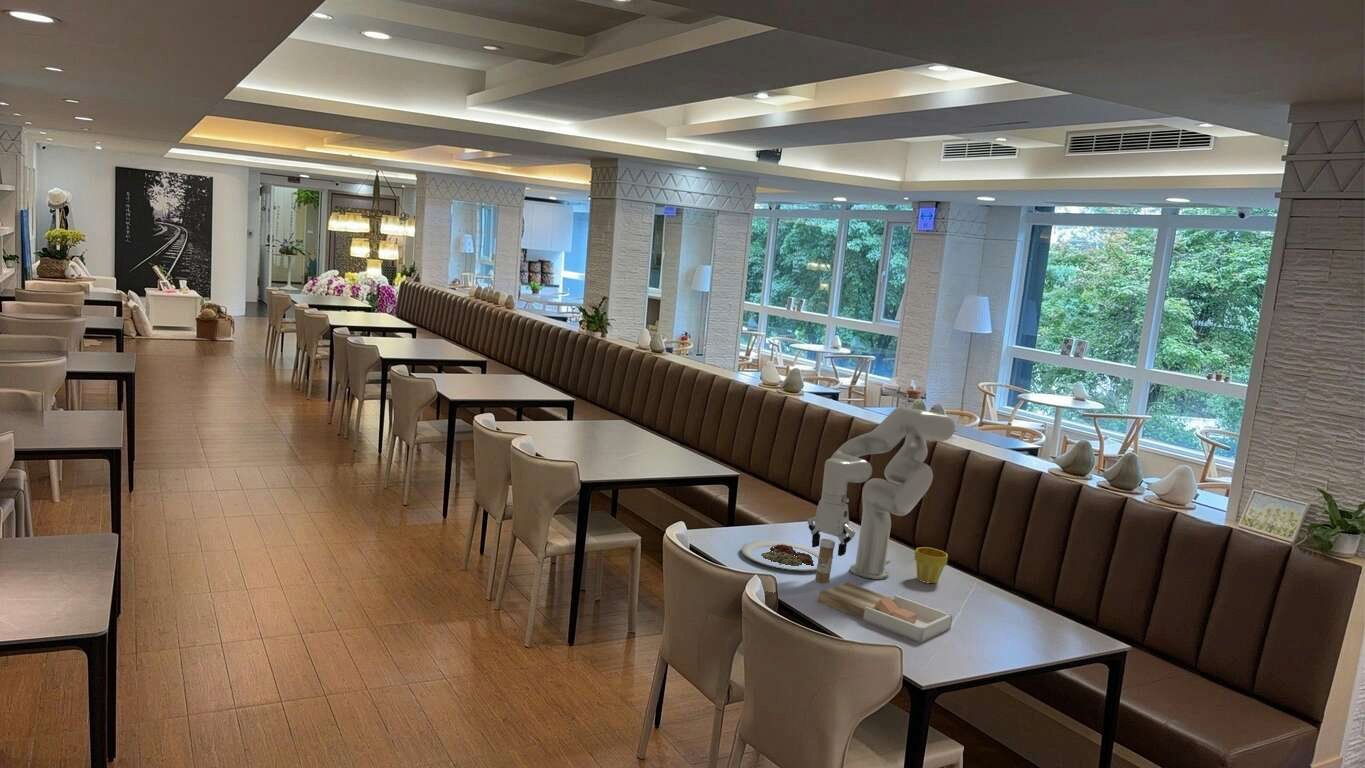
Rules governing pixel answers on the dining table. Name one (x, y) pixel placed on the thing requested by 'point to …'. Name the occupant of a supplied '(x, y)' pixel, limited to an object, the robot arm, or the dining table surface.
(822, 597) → the grooved oak block
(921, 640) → the box
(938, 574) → the plant pot
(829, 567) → the sprinkles bottle
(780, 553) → the plated food
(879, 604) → the rear tile
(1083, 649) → the dining table surface
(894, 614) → the front tile
